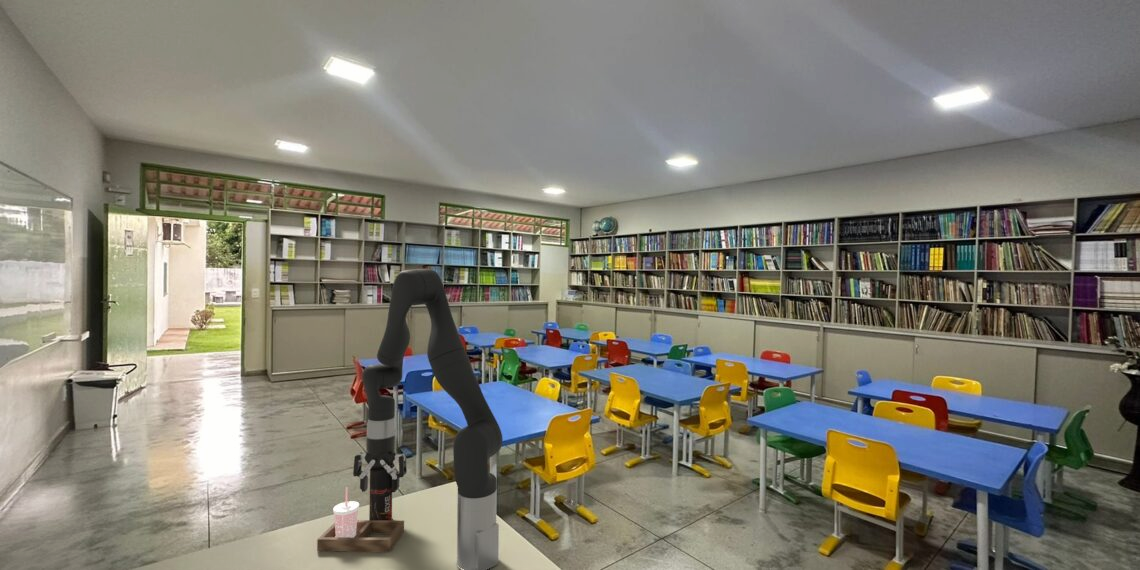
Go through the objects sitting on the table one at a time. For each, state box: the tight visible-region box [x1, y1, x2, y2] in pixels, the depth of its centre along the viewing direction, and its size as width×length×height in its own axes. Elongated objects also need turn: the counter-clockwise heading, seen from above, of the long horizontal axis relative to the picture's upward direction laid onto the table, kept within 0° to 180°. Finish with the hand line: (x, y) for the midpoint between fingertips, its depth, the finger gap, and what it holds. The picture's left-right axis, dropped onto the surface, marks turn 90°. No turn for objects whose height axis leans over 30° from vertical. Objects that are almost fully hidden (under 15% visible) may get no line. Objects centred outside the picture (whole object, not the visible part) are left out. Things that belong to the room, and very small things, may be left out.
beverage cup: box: [332, 486, 360, 537], centre depth 117 cm, size 6×6×14 cm
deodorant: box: [368, 466, 393, 521], centre depth 128 cm, size 6×6×15 cm
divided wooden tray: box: [316, 519, 405, 553], centre depth 117 cm, size 18×10×3 cm, turn 90°
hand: (379, 490), depth 128 cm, fingers open, 8 cm apart
